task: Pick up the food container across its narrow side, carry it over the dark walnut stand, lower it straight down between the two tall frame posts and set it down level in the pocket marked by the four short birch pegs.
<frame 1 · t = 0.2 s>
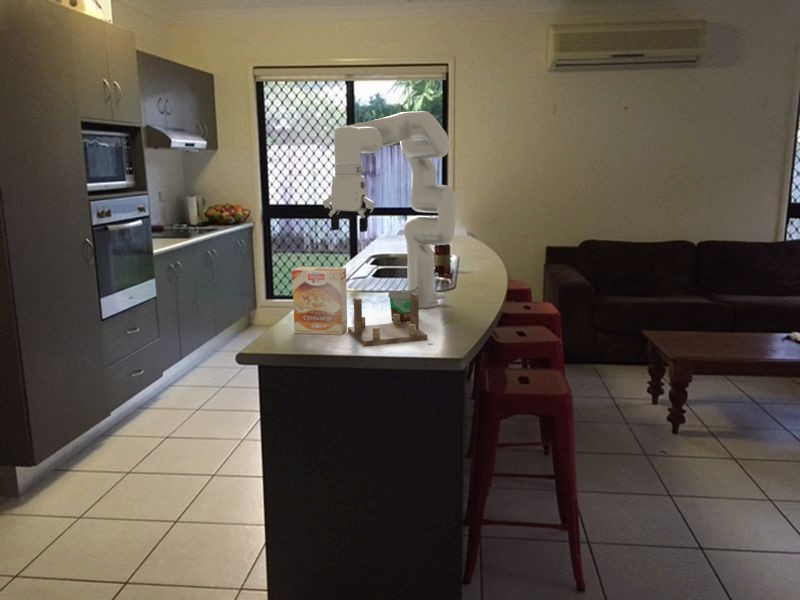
hand: (349, 230, 193), 31 cm above the countertop, tool pointing down, fingers open, 9 cm apart
peg stand: (386, 335, 196), on the countertop
coffeecake box: (321, 332, 202), on the countertop
food container: (409, 320, 215), on the countertop
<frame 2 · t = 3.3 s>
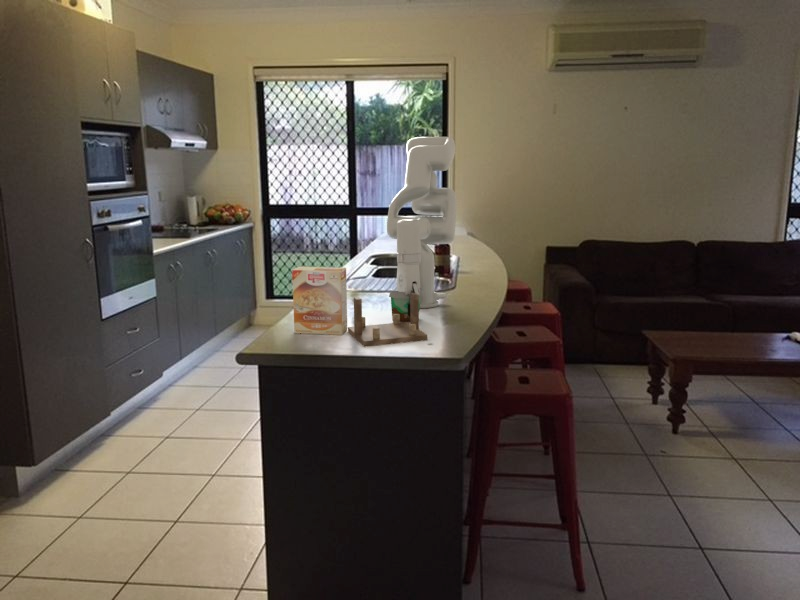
hand: (409, 312, 215), 2 cm above the countertop, tool pointing down, fingers closed on food container, 5 cm apart
food container: (409, 321, 215), on the countertop, touching gripper
everything else where it was.
when the fingers open (5 cm above the countertop, at t = 9.5 s): food container drops 1 cm, resting on peg stand.
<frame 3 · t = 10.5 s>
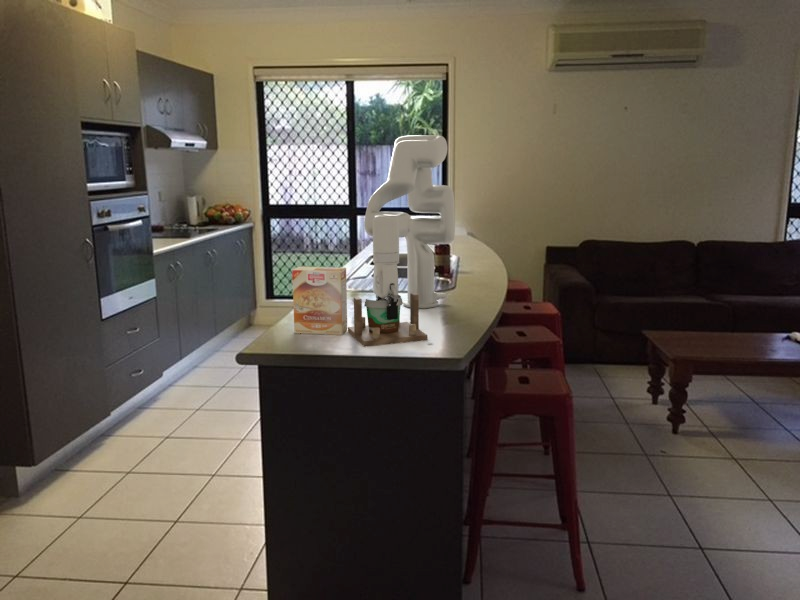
hand: (386, 315, 195), 6 cm above the countertop, tool pointing down, fingers open, 9 cm apart
food container: (388, 332, 195), point 1 cm above the countertop, touching gripper, peg stand
everything else where it was.
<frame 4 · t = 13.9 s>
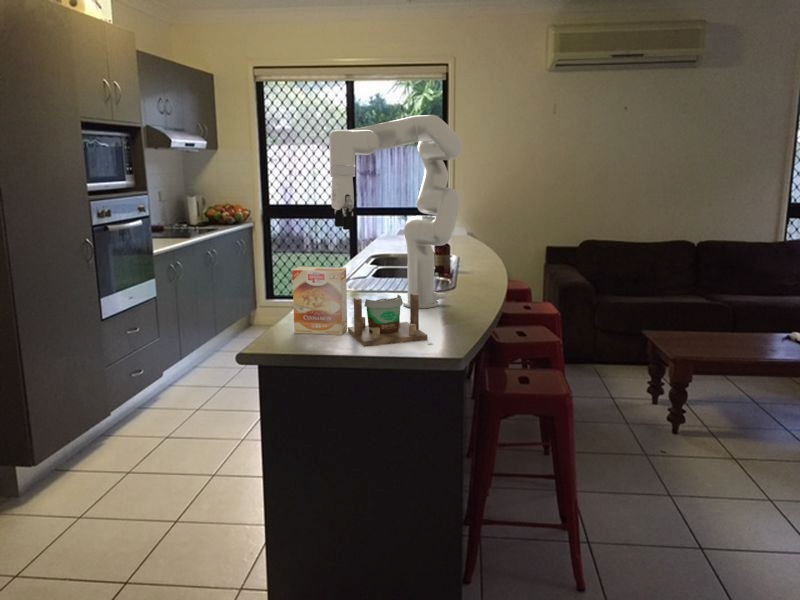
hand: (343, 228, 206), 30 cm above the countertop, tool pointing down, fingers open, 9 cm apart
food container: (388, 332, 195), point 1 cm above the countertop, touching peg stand
everything else where it was.
at the end: food container inside the target area on the peg stand (1.1 cm from its centre), point 1.3 cm above the peg stand's base; food container tilted 0°; food container touching peg stand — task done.
